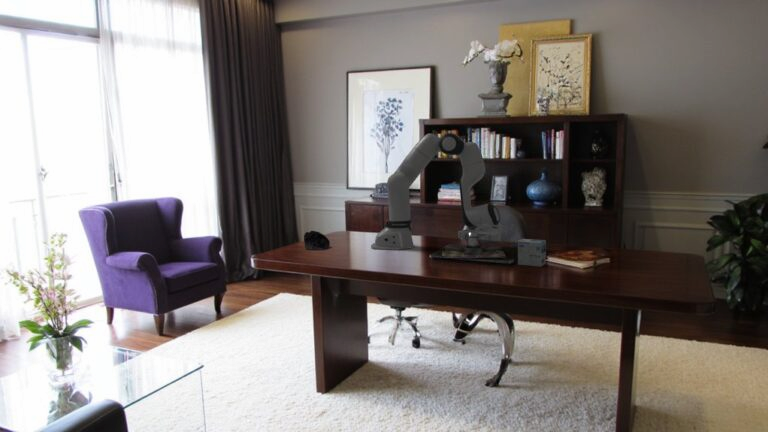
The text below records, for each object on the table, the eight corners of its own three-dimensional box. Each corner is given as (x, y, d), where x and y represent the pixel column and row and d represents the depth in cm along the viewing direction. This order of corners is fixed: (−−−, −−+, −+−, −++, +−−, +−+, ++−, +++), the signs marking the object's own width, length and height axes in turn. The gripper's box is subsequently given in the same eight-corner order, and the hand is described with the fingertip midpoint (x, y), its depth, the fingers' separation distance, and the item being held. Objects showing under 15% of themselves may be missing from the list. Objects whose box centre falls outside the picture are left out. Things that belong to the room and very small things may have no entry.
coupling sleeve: (468, 254, 261) (468, 233, 260) (468, 252, 266) (468, 231, 265) (478, 254, 261) (478, 233, 259) (477, 252, 265) (477, 231, 264)
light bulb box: (546, 264, 244) (546, 239, 243) (541, 267, 239) (541, 242, 237) (522, 261, 250) (522, 238, 249) (517, 264, 245) (517, 240, 243)
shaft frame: (442, 258, 260) (441, 247, 260) (442, 254, 270) (442, 243, 270) (505, 258, 257) (505, 247, 256) (503, 254, 266) (503, 243, 266)
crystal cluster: (335, 248, 296) (334, 229, 295) (316, 250, 285) (315, 231, 285) (317, 247, 304) (317, 229, 304) (298, 249, 294) (298, 231, 294)
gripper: (464, 225, 278) (452, 229, 267) (503, 228, 268) (492, 232, 256) (464, 238, 279) (452, 242, 268) (503, 241, 268) (492, 246, 257)
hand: (472, 237), depth 262 cm, fingers open, 8 cm apart
